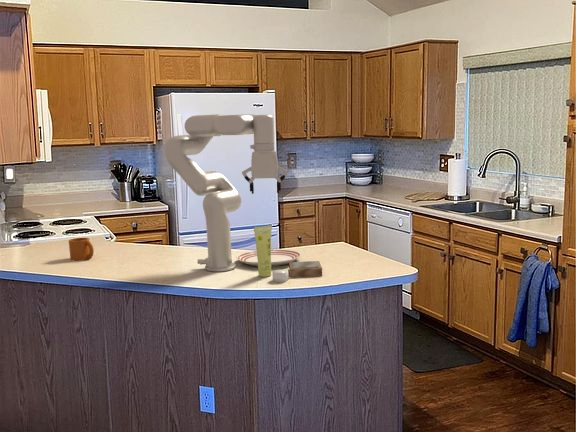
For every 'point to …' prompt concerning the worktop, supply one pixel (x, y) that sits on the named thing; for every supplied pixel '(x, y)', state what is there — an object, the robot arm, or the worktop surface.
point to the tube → (263, 249)
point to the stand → (305, 269)
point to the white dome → (280, 275)
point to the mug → (80, 249)
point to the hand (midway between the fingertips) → (265, 193)
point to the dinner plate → (277, 257)
